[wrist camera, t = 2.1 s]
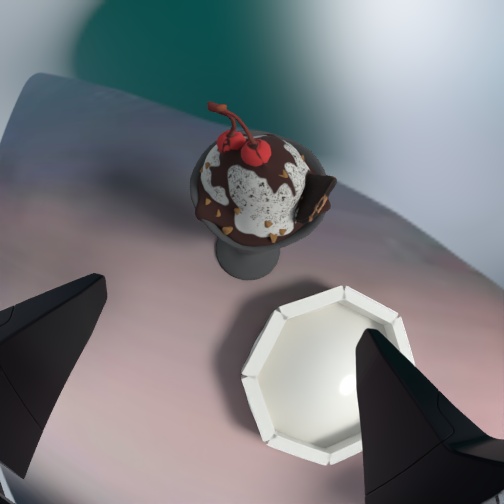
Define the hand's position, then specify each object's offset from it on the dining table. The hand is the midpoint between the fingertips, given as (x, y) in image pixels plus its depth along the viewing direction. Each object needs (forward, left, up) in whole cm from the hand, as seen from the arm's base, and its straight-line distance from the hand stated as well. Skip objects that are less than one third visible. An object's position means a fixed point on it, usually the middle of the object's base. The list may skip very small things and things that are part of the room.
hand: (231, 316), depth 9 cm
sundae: (+3, +6, -13) cm, 14 cm away
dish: (+6, -6, -13) cm, 15 cm away
